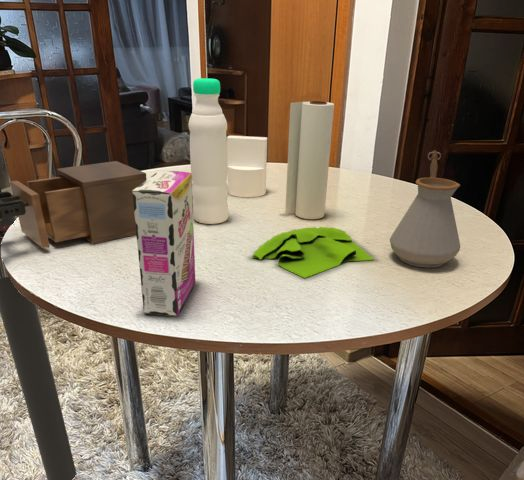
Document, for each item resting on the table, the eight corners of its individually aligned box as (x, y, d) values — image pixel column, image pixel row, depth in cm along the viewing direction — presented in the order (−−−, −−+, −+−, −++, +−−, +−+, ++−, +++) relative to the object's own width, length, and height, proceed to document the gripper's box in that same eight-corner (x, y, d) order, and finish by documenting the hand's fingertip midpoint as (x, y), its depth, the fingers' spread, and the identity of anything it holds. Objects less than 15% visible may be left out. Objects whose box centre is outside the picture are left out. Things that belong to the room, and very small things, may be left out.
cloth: (347, 229, 99) (349, 217, 98) (386, 275, 81) (388, 261, 80) (243, 232, 97) (243, 219, 95) (259, 280, 78) (259, 265, 77)
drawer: (14, 254, 82) (0, 200, 77) (-5, 236, 89) (-19, 185, 84) (102, 235, 90) (94, 185, 86) (78, 220, 97) (70, 173, 92)
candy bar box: (179, 317, 68) (171, 192, 59) (143, 315, 68) (129, 190, 59) (198, 282, 77) (193, 170, 68) (165, 280, 77) (156, 168, 69)
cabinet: (92, 244, 89) (82, 182, 84) (66, 226, 97) (56, 168, 91) (151, 231, 96) (146, 173, 90) (123, 215, 103) (116, 160, 98)
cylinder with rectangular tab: (268, 188, 124) (269, 135, 117) (263, 198, 116) (264, 142, 110) (231, 185, 124) (231, 133, 118) (224, 195, 117) (223, 140, 110)
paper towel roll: (329, 215, 107) (340, 102, 95) (314, 222, 103) (323, 105, 91) (300, 208, 110) (308, 98, 99) (284, 214, 106) (290, 101, 95)
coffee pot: (459, 276, 81) (483, 180, 73) (385, 267, 84) (401, 173, 76) (450, 233, 99) (468, 151, 91) (390, 227, 101) (402, 147, 93)
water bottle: (235, 220, 102) (235, 79, 89) (207, 227, 98) (202, 81, 85) (213, 211, 107) (209, 76, 93) (186, 218, 102) (178, 78, 89)
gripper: (-102, 232, 81) (9, 213, 91) (-83, 260, 72) (38, 236, 81) (-119, 184, 77) (-2, 170, 87) (-102, 208, 68) (27, 188, 77)
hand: (17, 202), depth 84 cm, fingers closed on drawer, 5 cm apart
